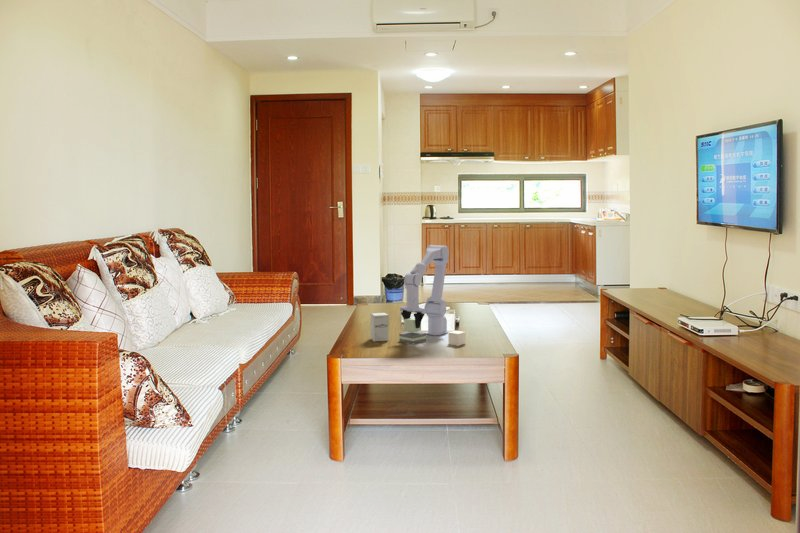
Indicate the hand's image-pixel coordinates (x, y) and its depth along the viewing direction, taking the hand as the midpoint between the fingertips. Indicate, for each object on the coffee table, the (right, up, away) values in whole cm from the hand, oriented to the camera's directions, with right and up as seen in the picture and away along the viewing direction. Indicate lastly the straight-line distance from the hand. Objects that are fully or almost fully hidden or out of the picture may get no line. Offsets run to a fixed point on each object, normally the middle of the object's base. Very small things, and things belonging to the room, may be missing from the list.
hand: (412, 327), depth 322 cm
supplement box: (-16, -7, +4) cm, 17 cm away
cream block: (+20, -7, -6) cm, 23 cm away
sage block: (0, -2, 0) cm, 2 cm away
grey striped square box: (0, -7, +1) cm, 7 cm away
